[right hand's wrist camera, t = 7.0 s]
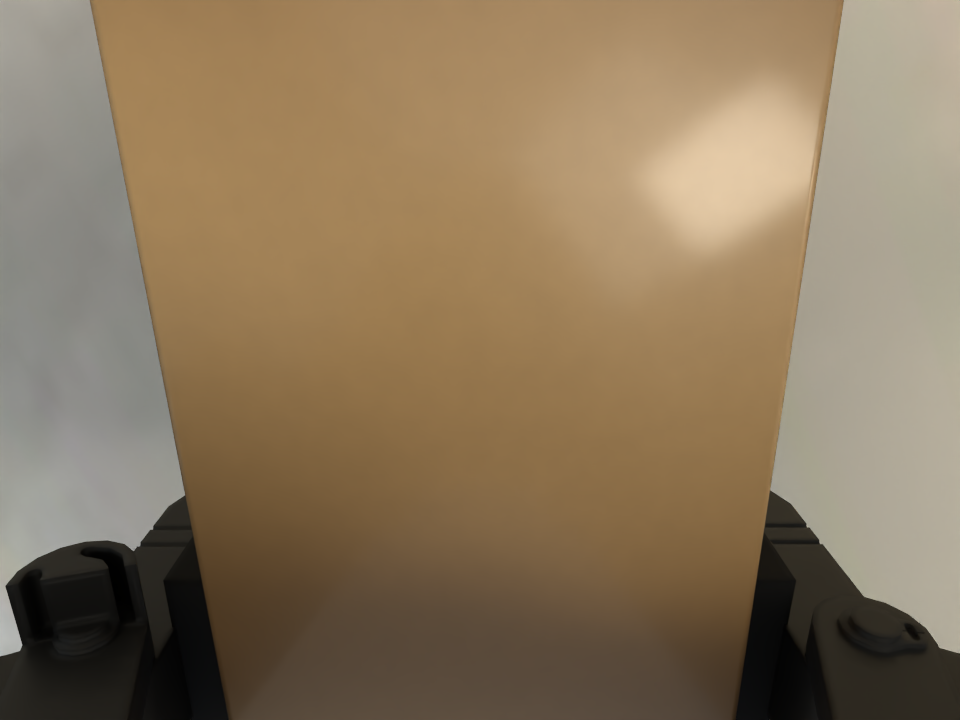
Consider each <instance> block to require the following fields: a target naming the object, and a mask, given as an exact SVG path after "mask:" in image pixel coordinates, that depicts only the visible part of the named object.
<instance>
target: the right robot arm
mask: <svg viewBox="0 0 960 720" xmlns="http://www.w3.org/2000/svg"><path fill="white" fill-rule="evenodd" d="M6 590H7V593H8V596H9V600H10V603H11V607H12V610H13V614H14V617H15V621H16V624H17V628H18V631H19V634H20V638H21V641H22V645H23V646H22V648H21V650H20V651H19V652H15V653H12V654H8V655H5V656H0V720H229V718H228V713H227V708H226V703H225V698H224V692H223V687H222V682H221V677H220V672H219V667H218V661H217V656H216V651H215V646H214V641H213V635H212V630H211V625H210V620H209V615H208V610H207V604H206V599H205V594H204V589H203V584H202V578H201V573H200V568H199V563H198V558H197V553H196V547H195V542H194V537H193V532H192V527H191V521H190V516H189V511H188V506H187V501H186V496H184V497H182V498H181V499H179V500H178V501H176V502H175V503H173V504H172V505H170V506H169V507H168V508H167V509H166V511H165V512H164V513H163V514H162V516H161V517H160V518H159V520H158V521H157V522H156V523H155V525H154V526H153V530H150V531H149V532H148V534H147V535H146V536H145V537H144V539H143V540H142V541H141V545H140V547H137V548H136V549H135V550H134V551H132V550H131V549H130V548H129V547H127V546H126V545H125V544H121V543H117V542H112V541H91V542H83V543H78V544H74V545H70V546H66V547H62V548H59V549H57V550H55V551H53V552H50V553H48V554H46V555H43V556H41V557H39V558H37V559H35V560H34V561H32V562H31V563H29V564H28V565H26V566H25V567H23V568H22V569H21V570H19V571H18V572H17V573H16V574H15V575H14V576H13V578H12V579H11V580H10V581H9V582H8V584H7V585H6ZM769 719H770V720H960V653H955V652H951V651H948V650H944V649H941V648H939V647H938V644H937V643H936V642H935V640H934V639H933V637H932V636H931V635H930V633H929V632H928V630H927V629H926V628H925V627H924V626H922V625H921V624H920V623H918V622H917V621H916V620H915V619H913V618H912V617H911V616H909V615H908V614H906V613H904V612H902V611H900V610H898V609H896V608H894V607H892V606H890V605H888V604H886V603H883V602H880V601H876V600H873V599H869V598H866V597H864V596H863V595H862V594H861V593H860V591H859V590H858V589H857V588H856V586H855V585H854V584H853V582H852V581H851V580H850V579H849V577H848V576H847V575H846V574H845V572H844V571H843V570H842V568H841V567H840V566H839V565H838V563H837V562H836V561H835V560H834V558H833V557H832V556H831V554H830V553H829V552H828V551H827V549H826V548H825V547H824V546H823V544H819V539H818V538H817V537H816V535H815V534H814V533H813V532H812V530H811V529H810V528H807V526H806V523H805V521H804V520H803V519H802V518H801V516H800V515H799V514H798V512H797V511H796V510H795V509H794V507H793V506H792V505H791V504H790V503H789V502H787V501H785V500H784V499H782V498H781V497H779V496H778V495H776V494H775V493H773V492H772V491H770V493H769V500H768V506H767V513H766V520H765V526H764V533H763V540H762V546H761V553H760V560H759V566H758V573H757V580H756V586H755V593H754V599H753V606H752V613H751V619H750V626H749V633H748V639H747V646H746V653H745V659H744V666H743V673H742V679H741V686H740V693H739V699H738V706H737V712H736V719H735V720H769Z"/></svg>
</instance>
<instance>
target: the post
mask: <svg viewBox="0 0 960 720" xmlns="http://www.w3.org/2000/svg"><path fill="white" fill-rule="evenodd" d="M843 2H844V0H90V3H91V9H92V14H93V19H94V24H95V29H96V34H97V40H98V45H99V50H100V55H101V60H102V66H103V71H104V76H105V81H106V86H107V91H108V97H109V102H110V107H111V112H112V117H113V123H114V128H115V133H116V138H117V143H118V148H119V154H120V159H121V164H122V169H123V174H124V180H125V185H126V190H127V195H128V200H129V205H130V211H131V216H132V221H133V226H134V231H135V237H136V242H137V247H138V252H139V257H140V262H141V268H142V273H143V278H144V283H145V288H146V294H147V299H148V304H149V309H150V314H151V319H152V325H153V330H154V335H155V340H156V345H157V351H158V356H159V361H160V366H161V371H162V376H163V382H164V387H165V392H166V397H167V402H168V407H169V413H170V418H171V423H172V428H173V433H174V439H175V444H176V449H177V454H178V459H179V464H180V470H181V475H182V480H183V485H184V490H185V496H186V501H187V506H188V511H189V516H190V521H191V527H192V532H193V537H194V542H195V547H196V553H197V558H198V563H199V568H200V573H201V578H202V584H203V589H204V594H205V599H206V604H207V610H208V615H209V620H210V625H211V630H212V635H213V641H214V646H215V651H216V656H217V661H218V667H219V672H220V677H221V682H222V687H223V692H224V698H225V703H226V708H227V713H228V718H229V720H735V719H736V712H737V706H738V699H739V693H740V686H741V679H742V673H743V666H744V659H745V653H746V646H747V639H748V633H749V626H750V619H751V613H752V606H753V599H754V593H755V586H756V580H757V573H758V566H759V560H760V553H761V546H762V540H763V533H764V526H765V520H766V513H767V506H768V500H769V493H770V487H771V480H772V473H773V467H774V460H775V453H776V447H777V440H778V433H779V427H780V420H781V413H782V407H783V400H784V394H785V387H786V380H787V374H788V367H789V360H790V354H791V347H792V340H793V334H794V327H795V320H796V314H797V307H798V301H799V294H800V287H801V281H802V274H803V267H804V261H805V254H806V247H807V241H808V234H809V227H810V221H811V214H812V208H813V201H814V194H815V188H816V181H817V174H818V168H819V161H820V154H821V148H822V141H823V134H824V128H825V121H826V115H827V108H828V101H829V95H830V88H831V81H832V75H833V68H834V61H835V55H836V48H837V41H838V35H839V28H840V22H841V15H842V8H843Z"/></svg>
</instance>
